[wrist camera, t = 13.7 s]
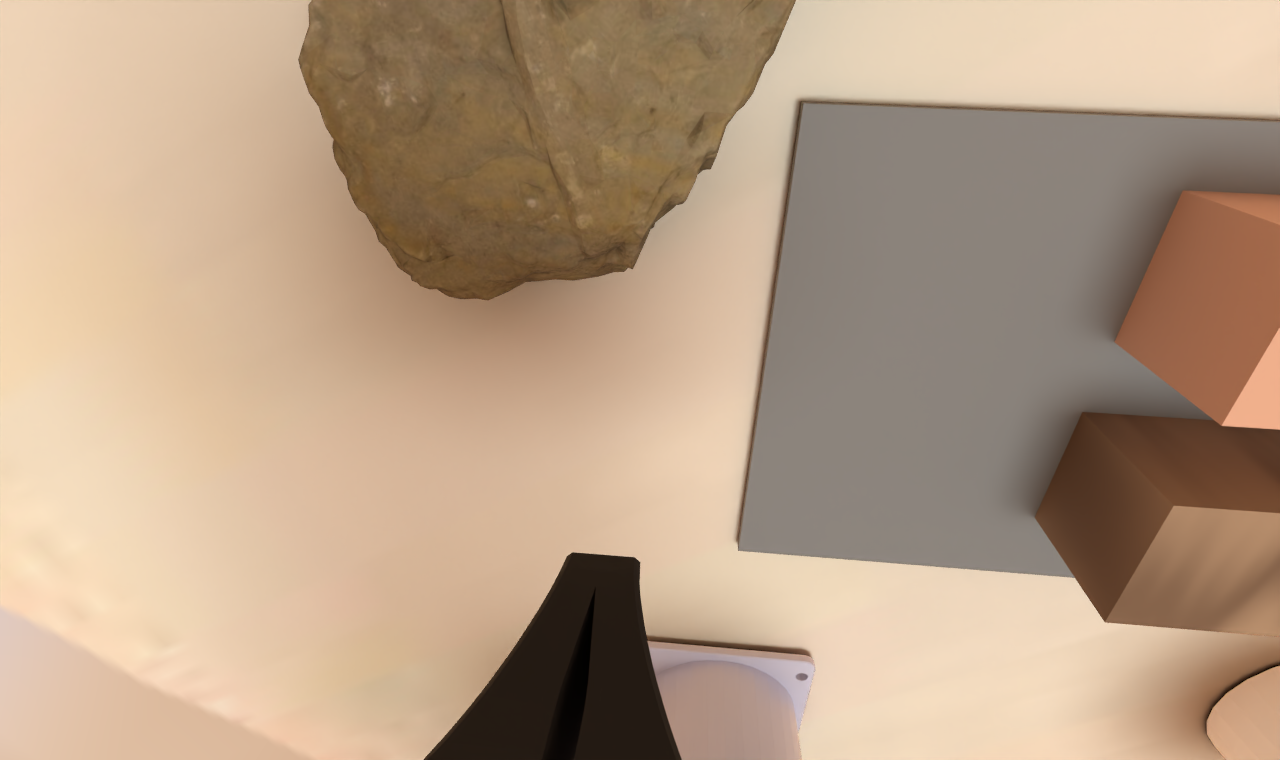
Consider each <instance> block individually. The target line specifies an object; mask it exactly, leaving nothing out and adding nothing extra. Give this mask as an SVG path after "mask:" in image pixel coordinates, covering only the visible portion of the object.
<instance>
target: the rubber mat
mask: <svg viewBox="0 0 1280 760" xmlns="http://www.w3.org/2000/svg"><path fill="white" fill-rule="evenodd" d="M1183 190H1184V191H1207V192H1229V193H1252V194H1274V195H1280V121H1278V120H1253V119H1227V118H1202V117H1177V116H1151V115H1126V114H1101V113H1075V112H1050V111H1025V110H999V109H974V108H949V107H923V106H898V105H873V104H847V103H822V102H801V108H800V115H799V122H798V129H797V136H796V143H795V150H794V156H793V163H792V170H791V177H790V184H789V191H788V198H787V205H786V212H785V219H784V226H783V233H782V240H781V247H780V254H779V261H778V268H777V274H776V281H775V288H774V295H773V302H772V309H771V316H770V323H769V330H768V337H767V344H766V351H765V358H764V365H763V372H762V379H761V385H760V392H759V399H758V406H757V413H756V420H755V427H754V434H753V441H752V448H751V455H750V462H749V469H748V476H747V483H746V490H745V497H744V503H743V510H742V517H741V524H740V531H739V538H738V551H748V552H761V553H773V554H786V555H798V556H811V557H823V558H836V559H848V560H861V561H873V562H886V563H898V564H910V565H923V566H935V567H948V568H960V569H973V570H985V571H998V572H1010V573H1023V574H1035V575H1047V576H1060V577H1072V578H1075V577H1074V576H1073V574H1072V573H1071V571H1070V570H1069V568H1068V567H1067V565H1066V564H1065V562H1064V561H1063V559H1062V558H1061V556H1060V555H1059V553H1058V552H1057V550H1056V549H1055V547H1054V546H1053V544H1052V543H1051V541H1050V540H1049V538H1048V537H1047V535H1046V534H1045V532H1044V531H1043V529H1042V528H1041V526H1040V525H1039V523H1038V522H1037V520H1036V519H1035V516H1036V514H1037V511H1038V509H1039V507H1040V505H1041V502H1042V500H1043V498H1044V496H1045V494H1046V491H1047V489H1048V487H1049V485H1050V483H1051V480H1052V478H1053V476H1054V474H1055V471H1056V469H1057V467H1058V465H1059V463H1060V460H1061V458H1062V456H1063V454H1064V451H1065V449H1066V447H1067V445H1068V443H1069V440H1070V438H1071V436H1072V434H1073V432H1074V429H1075V427H1076V425H1077V423H1078V420H1079V418H1080V416H1081V414H1082V412H1092V413H1108V414H1123V415H1139V416H1155V417H1170V418H1186V419H1201V420H1213V419H1212V418H1211V417H1210V416H1208V415H1207V414H1206V413H1204V412H1203V411H1202V410H1201V409H1199V408H1198V407H1197V406H1195V405H1194V404H1193V403H1192V402H1190V401H1189V400H1188V399H1186V398H1185V397H1184V396H1183V395H1181V394H1180V393H1179V392H1178V391H1176V390H1175V389H1174V388H1172V387H1171V386H1170V385H1169V384H1167V383H1166V382H1165V381H1163V380H1162V379H1161V378H1160V377H1158V376H1157V375H1156V374H1154V373H1153V372H1152V371H1151V370H1149V369H1148V368H1147V367H1145V366H1144V365H1143V364H1142V363H1140V362H1139V361H1138V360H1136V359H1135V358H1134V357H1133V356H1131V355H1130V354H1129V353H1127V352H1126V351H1125V350H1124V349H1122V348H1121V347H1120V346H1118V345H1117V344H1116V343H1115V339H1116V337H1117V335H1118V333H1119V331H1120V328H1121V326H1122V324H1123V322H1124V320H1125V317H1126V315H1127V313H1128V311H1129V308H1130V306H1131V304H1132V302H1133V300H1134V297H1135V295H1136V293H1137V291H1138V289H1139V286H1140V284H1141V282H1142V280H1143V278H1144V275H1145V273H1146V271H1147V269H1148V266H1149V264H1150V262H1151V260H1152V258H1153V255H1154V253H1155V251H1156V249H1157V247H1158V244H1159V242H1160V240H1161V238H1162V235H1163V233H1164V231H1165V229H1166V227H1167V224H1168V222H1169V220H1170V218H1171V216H1172V213H1173V211H1174V209H1175V207H1176V204H1177V202H1178V200H1179V198H1180V196H1181V193H1182V191H1183Z"/></svg>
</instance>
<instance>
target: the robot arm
mask: <svg viewBox="0 0 1280 760" xmlns="http://www.w3.org/2000/svg"><path fill="white" fill-rule="evenodd" d="M639 579H640V562H639V561H638V560H637V559H636V558H634V557H622V556H610V555H598V554H585V553H571V554H570V555H568V556H567V558H566V560H565V562H564V564H563V566H562V569H561V570H560V572H559V574H558V576H557V578H556V580H555V582H554V584H553V586H552V588H551V589H550V591H549V593H548V595H547V596H546V598H545V600H544V601H543V603H542V605H541V607H540V608H539V610H538V612H537V613H536V615H535V616H534V618H533V619H532V621H531V622H530V624H529V626H528V627H527V629H526V630H525V632H524V633H523V635H522V636H521V638H520V639H519V641H518V643H517V644H516V645H515V647H514V648H513V650H512V651H511V653H510V654H509V655H508V657H507V658H506V659H505V661H504V662H503V664H502V665H501V666H500V668H499V669H498V670H497V672H496V673H495V675H494V676H493V677H492V679H491V680H490V681H489V683H488V684H487V685H486V687H485V688H484V689H483V691H482V692H481V693H480V694H479V696H478V697H477V698H476V700H475V701H474V702H473V703H472V705H471V706H470V707H469V708H468V709H467V711H466V712H465V713H464V714H463V715H462V717H461V718H460V719H459V720H458V721H457V723H456V724H455V725H454V726H453V727H452V729H451V730H450V731H449V732H448V733H447V734H446V735H445V737H444V738H443V739H442V740H441V741H440V742H439V743H438V744H437V745H436V746H435V748H434V749H433V750H432V751H431V752H430V753H429V754H428V755H427V756H426V757H425V759H424V760H802V758H801V751H800V744H799V736H798V733H799V729H800V725H801V721H802V717H803V714H804V710H805V706H806V702H807V699H808V695H809V691H810V687H811V683H812V680H813V676H814V672H815V664H814V660H813V659H812V658H811V657H809V656H807V655H799V654H788V653H777V652H766V651H754V650H743V649H732V648H721V647H709V646H698V645H687V644H676V643H665V642H653V641H647V636H646V632H645V626H644V620H643V613H642V606H641V598H640V585H639Z"/></svg>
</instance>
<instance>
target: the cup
mask: <svg viewBox="0 0 1280 760" xmlns="http://www.w3.org/2000/svg"><path fill="white" fill-rule="evenodd" d="M1207 735H1208V737H1209V738H1210V740H1211V742H1212V743H1213V745H1214V746H1215V748H1216V749H1217V750H1218V751H1219V752H1220V753H1221V755H1222V756H1223V757H1224V758H1225V759H1226V760H1280V666H1277V667H1274V668H1271V669H1269V670H1267V671H1265V672H1262V673H1260V674H1258V675H1256V676H1254V677H1251V678H1249V679H1247V680H1245V681H1244V682H1242V683H1241V684H1239V685H1238V686H1237V687H1235V688H1234V689H1232V690H1231V691H1229V692H1228V693H1226V694H1225V695H1224V697H1223V698H1222V699H1221V700H1220V701H1219V702H1218V703H1217V704H1216V705H1215V706H1214V707H1213V709H1212V711H1211V713H1210V715H1209V717H1208V720H1207Z"/></svg>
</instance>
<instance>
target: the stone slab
mask: <svg viewBox="0 0 1280 760" xmlns="http://www.w3.org/2000/svg"><path fill="white" fill-rule="evenodd" d="M795 1H796V0H312V1H311V2H310V4H309V5H308V6H309V28H308V31H307V34H306V37H305V40H304V43H303V46H302V49H301V53H300V56H299V59H298V60H299V64H300V68H301V72H302V74H303V77H304V80H305V83H306V85H307V88H308V91H309V93H310V95H311V96H312V98H313V99H314V100H315V102H316V103H317V105H318V106H319V109H320V112H321V115H322V118H323V121H324V124H325V126H326V128H327V130H328V131H329V133H330V135H331V136H332V138H333V139H334V141H333V152H334V157H335V160H336V162H337V164H338V166H339V168H340V170H341V171H342V173H343V174H344V175H345V177H346V179H347V183H348V190H349V192H350V194H351V196H352V199H353V201H354V203H355V205H356V206H357V208H358V209H359V210H360V211H362V212H363V213H365V214H366V216H367V218H368V219H369V221H370V223H371V224H372V226H373V228H374V229H375V231H376V234H377V237H378V240H379V242H380V243H381V244H383V245H384V246H385V247H386V248H387V250H388V252H389V253H390V255H391V256H392V258H393V259H394V261H395V262H396V264H397V266H398V267H399V268H400V269H401V270H403V271H404V272H406V273H407V274H409V275H411V279H412V281H415V282H417V283H418V284H419V285H420V286H422V287H425V288H428V289H438V290H439V291H441V292H442V293H444V294H446V295H447V296H449V297H454V298H458V299H474V298H478V299H484V300H490V299H492V298H494V297H497V296H499V295H501V294H503V293H506V292H508V291H510V290H511V289H513V288H515V287H517V286H519V285H521V284H522V283H524V282H531V281H542V280H552V279H560V280H579V279H585V278H592V277H598V276H602V275H605V274H609V273H612V272H624V271H625V270H626V269H627V268H631V269H633V267H634V265H635V263H636V261H637V259H638V256H639V254H640V252H641V250H642V248H643V245H644V243H645V241H646V238H647V236H648V234H649V231H650V229H651V228H653V227H654V224H655V222H656V221H657V220H659V219H660V218H661V217H662V216H664V215H665V214H666V213H667V212H669V211H670V210H671V209H672V208H674V207H675V206H676V205H679V204H683V203H684V202H685V201H686V199H687V197H688V195H689V193H690V191H691V189H692V187H693V185H694V183H695V180H696V177H697V175H698V174H699V173H700V172H701V171H702V170H705V169H711V167H712V165H713V162H714V160H715V158H716V156H717V153H718V150H719V147H720V144H721V140H722V137H723V134H724V131H725V128H726V126H727V124H728V123H729V122H730V120H731V119H732V117H733V116H734V115H735V113H736V112H737V111H738V110H739V109H740V108H742V107H743V106H744V105H745V103H746V102H747V101H748V99H749V98H750V97H751V95H752V94H753V92H754V90H755V87H756V85H757V82H758V80H759V77H760V75H761V73H762V70H763V68H764V65H765V64H766V62H767V61H768V60H769V59H770V57H771V56H772V55H773V53H774V51H775V49H776V46H777V44H778V42H779V39H780V37H781V34H782V32H783V30H784V27H785V25H786V23H787V20H788V18H789V15H790V13H791V11H792V8H793V6H794V4H795Z"/></svg>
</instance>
